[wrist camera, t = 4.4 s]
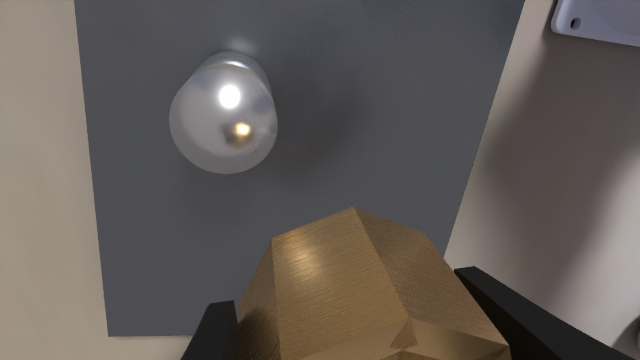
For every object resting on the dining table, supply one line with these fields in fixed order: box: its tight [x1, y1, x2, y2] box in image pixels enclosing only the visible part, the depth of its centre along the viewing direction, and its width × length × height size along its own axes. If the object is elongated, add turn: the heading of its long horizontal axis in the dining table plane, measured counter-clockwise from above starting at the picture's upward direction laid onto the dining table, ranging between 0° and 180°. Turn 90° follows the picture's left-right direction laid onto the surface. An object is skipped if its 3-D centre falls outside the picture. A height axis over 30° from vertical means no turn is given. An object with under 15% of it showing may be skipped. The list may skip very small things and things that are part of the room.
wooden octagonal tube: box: [236, 207, 512, 360], centre depth 10 cm, size 6×6×4 cm
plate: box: [74, 0, 525, 337], centre depth 16 cm, size 17×18×6 cm
